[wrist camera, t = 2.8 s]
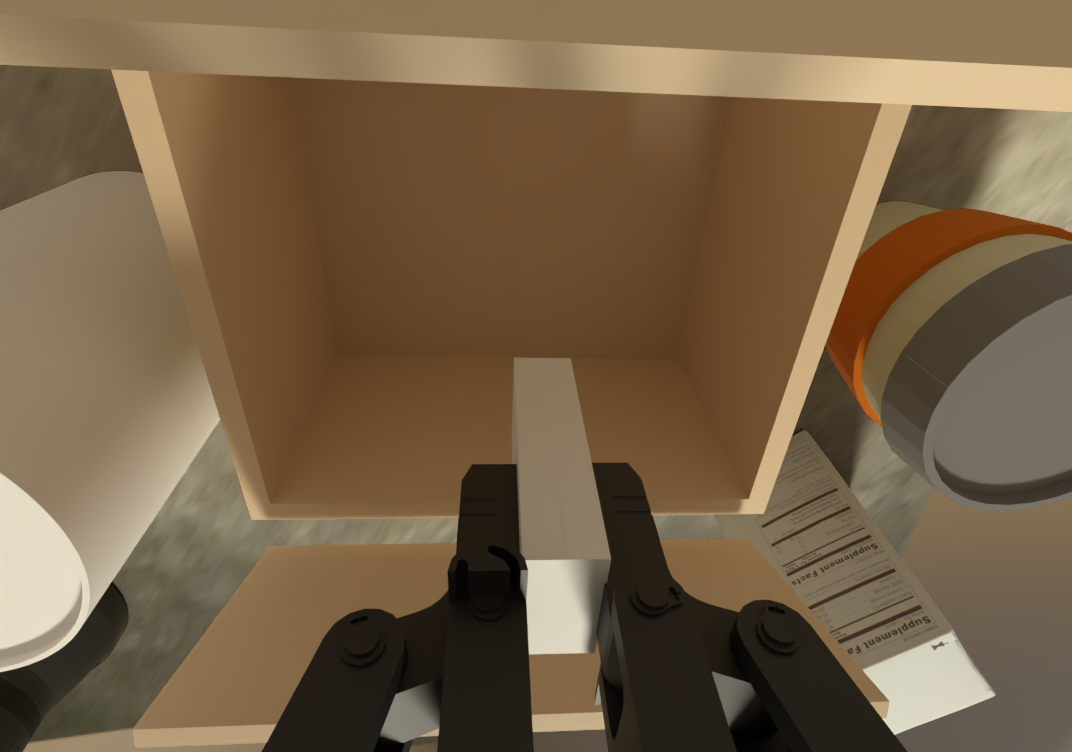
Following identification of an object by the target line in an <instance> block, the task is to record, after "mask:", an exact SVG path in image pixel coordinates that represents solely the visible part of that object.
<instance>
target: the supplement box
mask: <svg viewBox="0 0 1072 752" xmlns="http://www.w3.org/2000/svg"><path fill="white" fill-rule="evenodd" d="M715 517H716V519H717V522H718V524H719V526H720V528H721V531H722V533H723V535H724V538H725V539H749V540H750V541H751V543H752V544H753V545H754V546H755V547H756V548H757V549H758V551H759V552H760V553H761V554H762V555H763V556H764V558H765V559H766V560H767V561H768V562H769V563H770V564H771V566H772V567H773V568H774V569H775V570H776V571H777V572H778V574H779V575H780V576H781V577H782V578H783V579H784V580H785V582H786V583H787V584H788V585H789V586H790V587H791V589H792V590H793V591H794V592H795V593H796V594H797V595H798V597H799V598H800V599H801V600H802V601H803V602H804V603H805V605H806V606H807V607H808V608H809V609H810V610H811V612H812V613H813V614H814V615H815V616H816V617H817V618H818V620H819V621H820V622H821V623H822V624H823V625H824V626H825V628H826V629H827V630H828V631H829V632H830V633H831V634H832V636H833V637H834V638H835V639H836V640H837V641H838V643H839V644H840V645H841V646H842V647H843V648H844V649H845V651H846V652H847V653H848V654H849V655H850V656H851V657H852V659H853V660H854V661H855V662H856V663H857V664H858V666H859V667H860V668H861V669H862V670H863V671H864V672H865V674H866V675H867V676H868V677H869V678H870V679H871V680H872V682H873V683H874V684H875V685H876V686H877V687H878V688H879V690H880V691H881V692H882V693H883V694H884V695H885V697H886V698H887V699H888V700H889V701H890V702H889V708H888V713H887V718H882V719H883V720H884V722H885V723H886V724H887V726H888V727H889V728H890V730H891V731H892V732H893V733H894V735H895V734H898V733H900V732H903V731H905V730H907V729H910V728H913V727H915V726H918V725H921V724H923V723H926V722H929V721H932V720H934V719H937V718H940V717H942V716H945V715H948V714H950V713H953V712H956V711H958V710H961V709H964V708H966V707H969V706H971V705H974V704H976V703H978V702H981V701H984V700H986V699H989V698H991V697H993V696H995V692H994V690H993V689H992V687H991V686H990V685H989V683H988V682H987V680H986V679H985V678H984V676H983V675H982V673H981V672H980V670H979V669H978V667H977V666H976V664H975V663H974V661H973V660H972V658H971V657H970V655H969V654H968V652H967V651H966V650H965V648H964V646H963V645H962V643H961V642H960V640H959V639H958V637H957V636H956V634H955V633H954V630H953V628H952V627H951V626H950V624H949V623H948V622H947V620H946V619H945V617H944V616H943V615H942V613H941V612H940V610H939V609H938V607H937V606H936V605H935V603H934V602H933V600H932V599H931V598H930V596H929V595H928V593H927V592H926V591H925V589H924V588H923V586H922V585H921V584H920V582H919V581H918V579H917V578H916V577H915V576H914V574H913V573H912V572H911V570H910V569H909V568H908V567H907V565H906V564H905V563H904V562H903V560H902V559H901V558H900V556H899V555H898V554H897V553H896V551H895V550H894V549H893V547H892V546H891V545H890V543H889V542H888V541H887V539H886V538H885V537H884V536H883V534H882V533H881V532H880V530H879V529H878V528H877V526H876V525H875V524H874V522H873V521H872V520H871V518H870V517H869V515H868V514H867V512H866V511H865V510H864V508H863V507H862V505H861V504H860V502H859V501H858V499H857V498H856V497H855V495H854V494H853V492H852V491H851V490H850V488H849V487H848V485H847V484H846V483H845V481H844V480H843V478H842V477H841V476H840V474H839V473H838V472H837V470H836V469H835V467H834V466H833V465H832V463H831V462H830V460H829V459H828V458H827V457H826V455H825V454H824V453H823V451H822V450H821V449H820V447H819V446H818V445H817V443H816V442H815V441H814V439H813V438H812V437H811V435H810V434H809V433H808V432H807V431H806V430H803V431H801V432H799V433H797V434H796V435H794V436H792V437H791V440H790V443H789V446H788V449H787V451H786V454H785V457H784V460H783V462H782V465H781V468H780V471H779V473H778V476H777V479H776V482H775V484H774V487H773V490H772V493H771V495H770V498H769V501H768V504H767V506H766V509H765V512H764V514H720V515H715Z"/></svg>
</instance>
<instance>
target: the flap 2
mask: <svg viewBox="0 0 1072 752" xmlns="http://www.w3.org/2000/svg"><path fill="white" fill-rule="evenodd" d="M660 542H661V546H662V549H663V552H664V556H665V559H666V562H667V566H668V569H669V571H670V573H671V575H672V577H673V579H674V580H676V581H677V582H678V583H679V584H680V585H681V586H682V587H683V589H684V591H685V592H687V593H688V594H689V595H691V596H693V597H694V598H696V599H698V600H700V601H703V602H705V603H708V604H711V605H715V606H718V607H722V608H725V609H729V610H733V611H736V612H740V611H741V609H742V607H743V606H744V605H746V604H748V603H750V602H752V601H754V600H771V601H775V602H779V603H783V604H785V605H786V606H788V607H790V608H792V609H793V610H795V611H797V612H798V613H799V614H800V615H801V616H802V617H803V618H804V619H805V620H806V621H807V622H808V623H809V624H810V625H811V626H812V627H813V629H814V630H815V631H816V633H817V634H818V635H819V637H820V638H821V639H822V641H823V642H824V643H825V644H826V646H827V647H828V648H829V650H830V651H831V652H832V654H833V655H834V656H835V658H836V659H837V660H838V661H839V663H840V664H841V665H842V667H843V668H844V669H845V671H846V672H847V673H848V675H849V676H850V677H851V678H852V680H853V681H854V682H855V684H856V685H857V686H858V688H859V689H860V690H861V692H862V693H863V694H864V696H865V697H866V698H867V699H868V701H869V702H870V703H871V705H872V706H873V707H874V709H875V710H876V711H877V713H878V714H879V715H880V716H881V718H887V713H888V708H889V702H890V701H889V700H888V699H887V698H886V697H885V695H884V694H883V693H882V692H881V691H880V690H879V688H878V687H877V686H876V685H875V684H874V683H873V682H872V680H871V679H870V678H869V677H868V676H867V675H866V674H865V672H864V671H863V670H862V669H861V668H860V667H859V666H858V664H857V663H856V662H855V661H854V660H853V659H852V657H851V656H850V655H849V654H848V653H847V652H846V651H845V649H844V648H843V647H842V646H841V645H840V644H839V643H838V641H837V640H836V639H835V638H834V637H833V636H832V634H831V633H830V632H829V631H828V630H827V629H826V628H825V626H824V625H823V624H822V623H821V622H820V621H819V620H818V618H817V617H816V616H815V615H814V614H813V613H812V612H811V610H810V609H809V608H808V607H807V606H806V605H805V603H804V602H803V601H802V600H801V599H800V598H799V597H798V595H797V594H796V593H795V592H794V591H793V590H792V589H791V587H790V586H789V585H788V584H787V583H786V582H785V580H784V579H783V578H782V577H781V576H780V575H779V574H778V572H777V571H776V570H775V569H774V568H773V567H772V566H771V564H770V563H769V562H768V561H767V560H766V559H765V558H764V556H763V555H762V554H761V553H760V552H759V551H758V549H757V548H756V547H755V546H754V545H753V544H752V543H751V541H750V540H749V539H707V540H660ZM456 546H457V543H440V544H374V545H307V546H269V548H268V549H267V550H266V552H265V553H264V554H263V556H262V557H261V558H260V560H259V561H258V562H257V564H256V565H255V566H254V568H253V569H252V570H251V572H250V573H249V574H248V576H247V577H246V578H245V580H244V581H243V583H242V584H241V585H240V587H239V588H238V589H237V591H236V592H235V593H234V595H233V596H232V597H231V599H230V600H229V601H228V603H227V604H226V605H225V607H224V608H223V609H222V611H221V612H220V613H219V615H218V616H217V617H216V619H215V620H214V621H213V623H212V624H211V625H210V627H209V628H208V629H207V631H206V632H205V633H204V635H203V636H202V637H201V639H200V640H199V641H198V643H197V644H196V645H195V647H194V648H193V649H192V651H191V652H190V653H189V655H188V656H187V657H186V659H185V660H184V661H183V663H182V664H181V665H180V667H179V668H178V669H177V671H176V672H175V673H174V675H173V676H172V677H171V679H170V680H169V681H168V683H167V684H166V685H165V687H164V688H163V689H162V691H161V692H160V693H159V695H158V696H157V697H156V699H155V700H154V701H153V703H152V704H151V705H150V707H149V708H148V709H147V711H146V712H145V713H144V715H143V716H142V717H141V719H140V720H139V721H138V723H137V724H136V725H135V727H134V728H133V729H132V731H133V738H134V744H135V748H142V747H169V746H194V745H218V744H244V743H267V741H268V739H269V737H270V736H271V734H272V732H273V730H274V728H275V726H276V725H277V723H278V721H279V719H280V717H281V715H282V713H283V712H284V710H285V708H286V706H287V704H288V702H289V701H290V699H291V697H292V695H293V693H294V691H295V689H296V688H297V686H298V684H299V682H300V680H301V678H302V677H303V675H304V673H305V671H306V669H307V667H308V665H309V664H310V662H311V660H312V658H313V656H314V654H315V653H316V651H317V649H318V647H319V645H320V643H321V642H322V640H323V638H324V636H325V635H326V634H327V632H328V631H329V630H330V628H331V627H332V626H333V625H334V623H336V622H337V621H339V620H340V619H341V618H343V617H344V616H346V615H347V614H349V613H352V612H355V611H358V610H362V609H382V610H384V611H386V612H389V613H391V614H393V615H394V616H395V617H396V618H399V617H403V616H406V615H409V614H412V613H415V612H418V611H420V610H423V609H425V608H427V607H430V606H431V605H433V604H434V603H435V602H437V601H438V600H440V599H441V598H442V596H443V595H444V594H445V593H446V592H447V591H448V573H447V571H448V568H449V565H450V562H451V559H452V558H453V557H454V556H455V555H456ZM600 664H601V660H600V654H599V647H598V641H597V643H596V649H595V653H569V654H529V666H530V687H531V708H532V728H533V732H545V731H572V730H597V729H605V725H604V718H603V711H602V704H601V703H600V705H594V702H595V690H596V685H597V680H598V674H599V669H600ZM421 736H439V729H436V730H434V731H431V732H429V733H426V734H424V735H421ZM421 736H419V737H421Z"/></svg>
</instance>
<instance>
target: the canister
mask: <svg viewBox="0 0 1072 752" xmlns="http://www.w3.org/2000/svg"><path fill="white" fill-rule="evenodd" d="M219 420H220V417H219V414H218V411H217V407H216V404H215V401H214V398H213V395H212V391H211V388H210V385H209V382H208V379H207V375H206V372H205V369H204V366H203V363H202V359H201V356H200V353H199V350H198V347H197V343H196V340H195V337H194V334H193V331H192V327H191V324H190V321H189V318H188V315H187V311H186V308H185V305H184V302H183V299H182V295H181V292H180V289H179V286H178V283H177V279H176V276H175V273H174V270H173V267H172V263H171V260H170V257H169V254H168V251H167V247H166V244H165V241H164V238H163V235H162V231H161V228H160V225H159V222H158V219H157V215H156V212H155V209H154V206H153V202H152V199H151V196H150V193H149V190H148V186H147V183H146V180H145V177H144V174H143V173H139V172H130V171H108V172H100V173H95V174H91V175H87V176H84V177H81V178H78V179H76V180H73V181H71V182H69V183H66V184H64V185H61V186H59V187H56V188H54V189H51V190H49V191H47V192H44V193H42V194H39V195H37V196H34V197H32V198H30V199H27V200H25V201H22V202H20V203H17V204H15V205H13V206H10V207H8V208H5V209H3V210H0V672H4V671H9V670H13V669H17V668H20V667H24V666H27V665H30V664H32V663H35V662H37V661H40V660H42V659H44V658H46V657H48V656H50V655H52V654H53V653H55V652H57V651H58V650H60V649H61V648H62V647H64V646H65V645H66V644H67V643H68V642H70V641H71V640H72V639H73V638H74V636H75V635H76V634H77V633H78V631H79V630H80V629H81V627H82V626H83V624H84V623H85V621H86V620H87V618H88V617H89V615H90V614H91V612H92V611H93V609H94V608H95V606H96V605H97V603H98V602H99V600H100V599H101V597H102V596H103V594H104V593H105V591H106V590H107V588H108V587H109V585H110V584H111V582H112V581H113V579H114V578H115V576H116V575H117V573H118V572H119V570H120V569H121V567H122V566H123V564H124V563H125V561H126V560H127V558H128V557H129V555H130V554H131V552H132V551H133V549H134V548H135V546H136V545H137V543H138V542H139V540H140V539H141V537H142V536H143V534H144V533H145V531H146V530H147V528H148V527H149V525H150V524H151V522H152V521H153V519H154V518H155V516H156V515H157V513H158V512H159V510H160V509H161V507H162V506H163V504H164V503H165V501H166V500H167V498H168V497H169V495H170V494H171V492H172V491H173V489H174V488H175V486H176V485H177V483H178V482H179V480H180V479H181V477H182V476H183V474H184V473H185V471H186V470H187V468H188V467H189V465H190V464H191V462H192V461H193V459H194V458H195V456H196V455H197V453H198V452H199V450H200V449H201V447H202V446H203V444H204V443H205V441H206V440H207V438H208V437H209V435H210V434H211V432H212V431H213V429H214V428H215V426H216V425H217V423H218V422H219Z"/></svg>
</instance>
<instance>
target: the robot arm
mask: <svg viewBox="0 0 1072 752" xmlns="http://www.w3.org/2000/svg"><path fill="white" fill-rule="evenodd" d="M447 573H448V591H447V592H446V593H445V594H444V595H443V596H442V598H441V599H440V600H438V601H437V602H435V603H434V604H433V605H431V606H430V607H427V608H425V609H423V610H420V611H418V612H415V613H412V614H409V615H406V616H403V617H399V618H396V617H395V616H394V615H393V614H391V613H389V612H386V611H384V610H382V609H362V610H358V611H355V612H352V613H349V614H347V615H346V616H344V617H343V618H341V619H340V620H339V621H337V622H336V623H334V625H333V626H332V627H331V628H330V630H329V631H328V632H327V634H326V635H325V636H324V638H323V640H322V642H321V643H320V645H319V647H318V649H317V651H316V653H315V654H314V656H313V658H312V660H311V662H310V664H309V665H308V667H307V669H306V671H305V673H304V675H303V677H302V678H301V680H300V682H299V684H298V686H297V688H296V689H295V691H294V693H293V695H292V697H291V699H290V701H289V702H288V704H287V706H286V708H285V710H284V712H283V713H282V715H281V717H280V719H279V721H278V723H277V725H276V726H275V728H274V730H273V732H272V734H271V736H270V737H269V739H268V741H267V743H266V745H265V747H264V749H263V750H262V752H409V750H410V747H411V744H412V741H413V739H414V738H416V737H419V736H421V735H424V734H426V733H429V732H431V731H434V730H436V729H439V737H438V749H437V752H534V749H533V728H532V708H531V687H530V666H529V654H569V653H595V649H596V643H597V641H598V647H599V654H600V660H601V664H600V669H599V674H598V680H597V685H596V690H595V702H594V705H600V703H601V704H602V711H603V718H604V725H605V732H606V739H607V746H608V752H907V751H906V749H905V748H904V747H903V745H902V744H901V743H900V741H899V740H898V739H897V737H896V736H895V735H894V733H893V732H892V731H891V730H890V728H889V727H888V726H887V724H886V723H885V722H884V720H883V719H882V718H881V716H880V715H879V714H878V713H877V711H876V710H875V709H874V707H873V706H872V705H871V703H870V702H869V701H868V699H867V698H866V697H865V696H864V694H863V693H862V692H861V690H860V689H859V688H858V686H857V685H856V684H855V682H854V681H853V680H852V678H851V677H850V676H849V675H848V673H847V672H846V671H845V669H844V668H843V667H842V665H841V664H840V663H839V661H838V660H837V659H836V658H835V656H834V655H833V654H832V652H831V651H830V650H829V648H828V647H827V646H826V644H825V643H824V642H823V641H822V639H821V638H820V637H819V635H818V634H817V633H816V631H815V630H814V629H813V627H812V626H811V625H810V624H809V623H808V622H807V621H806V620H805V619H804V618H803V617H802V616H801V615H800V614H799V613H798V612H797V611H795V610H793V609H792V608H790V607H788V606H786V605H785V604H783V603H779V602H775V601H771V600H754V601H752V602H750V603H748V604H746V605H744V606H743V607H742V609H741V611H740V612H736V611H733V610H729V609H725V608H722V607H718V606H715V605H711V604H708V603H705V602H703V601H700V600H698V599H696V598H694V597H693V596H691V595H689V594H688V593H687V592H685V591H684V589H683V587H682V586H681V585H680V584H679V583H678V582H677V581H676V580H674V579H673V577H672V575H671V573H670V571H669V569H668V566H667V562H666V559H665V556H664V552H663V549H662V546H661V542H660V539H659V536H658V532H657V529H656V526H655V522H654V519H653V516H652V515H651V509H650V506H649V502H648V500H647V496H646V492H645V489H644V486H643V482H642V479H641V477H640V476H639V475H638V474H637V473H636V472H635V470H634V469H633V468H632V467H631V466H630V465H629V464H628V463H592V462H591V457H590V452H589V447H588V442H587V437H586V432H585V427H584V422H583V417H582V412H581V407H580V402H579V397H578V392H577V387H576V383H575V378H574V373H573V368H572V363H571V358H514V375H513V409H512V464H472V465H471V467H470V468H469V470H468V471H467V473H466V474H465V476H464V478H463V479H462V483H461V495H460V508H459V521H458V533H457V546H456V555H455V556H454V557H453V558H452V559H451V562H450V565H449V568H448V571H447ZM127 624H128V610H127V607H126V604H125V602H124V600H123V598H122V597H121V595H120V594H119V592H118V591H117V590H116V589H115V588H114V587H113V586H112V585H111V584H110V585H109V587H108V588H107V590H106V591H105V593H104V594H103V596H102V597H101V599H100V600H99V602H98V603H97V605H96V606H95V608H94V609H93V611H92V612H91V614H90V615H89V617H88V618H87V620H86V621H85V623H84V624H83V626H82V627H81V629H80V630H79V631H78V633H77V634H76V635H75V636H74V638H73V639H72V640H71V641H70V642H68V643H67V644H66V645H65V646H64V647H62V648H61V649H60V650H58V651H57V652H55V653H53V654H52V655H50V656H48V657H46V658H44V659H42V660H40V661H37V662H35V663H32V664H30V665H27V666H24V667H20V668H17V669H13V670H9V671H4V672H0V752H23V750H24V749H25V747H26V745H27V744H28V742H29V741H30V739H31V738H32V736H33V734H34V733H35V731H36V730H37V728H38V727H39V725H40V723H41V722H42V720H43V719H44V717H45V716H46V715H47V714H48V713H49V712H50V711H51V710H52V709H53V708H54V707H55V706H56V705H57V704H58V703H59V702H60V701H61V700H62V699H63V698H64V697H65V696H66V695H67V694H68V693H69V692H70V691H71V690H73V689H74V688H75V687H76V686H77V685H78V684H79V683H80V682H81V681H82V680H83V678H84V677H85V676H86V675H87V674H88V673H89V672H90V671H91V670H93V669H94V668H96V667H97V666H98V665H99V664H101V663H102V662H103V661H104V660H105V659H106V658H107V657H108V656H109V655H110V653H111V652H112V651H113V649H114V647H115V646H116V644H117V642H118V641H119V639H120V637H121V636H122V634H123V632H124V631H125V629H126V627H127Z"/></svg>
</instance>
